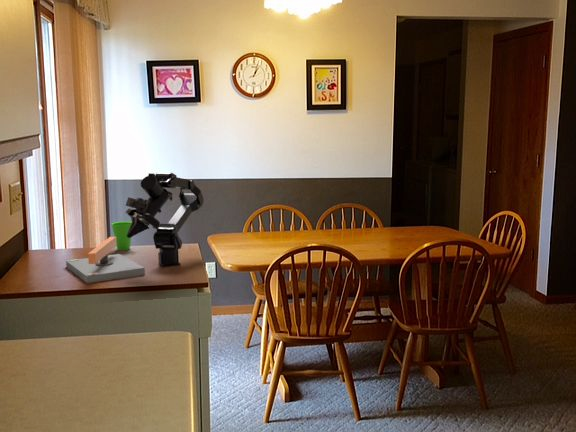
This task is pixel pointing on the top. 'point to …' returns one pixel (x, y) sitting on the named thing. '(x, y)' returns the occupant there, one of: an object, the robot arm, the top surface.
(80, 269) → the panel
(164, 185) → the robot arm
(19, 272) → the top surface
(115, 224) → the cup
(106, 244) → the handle
